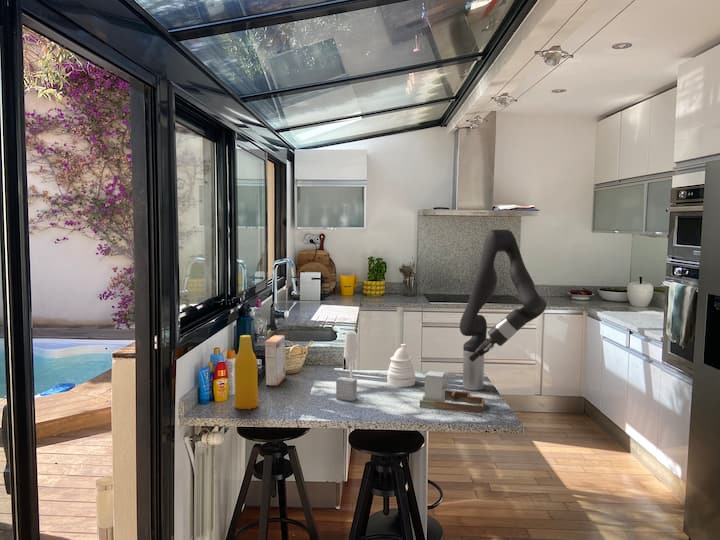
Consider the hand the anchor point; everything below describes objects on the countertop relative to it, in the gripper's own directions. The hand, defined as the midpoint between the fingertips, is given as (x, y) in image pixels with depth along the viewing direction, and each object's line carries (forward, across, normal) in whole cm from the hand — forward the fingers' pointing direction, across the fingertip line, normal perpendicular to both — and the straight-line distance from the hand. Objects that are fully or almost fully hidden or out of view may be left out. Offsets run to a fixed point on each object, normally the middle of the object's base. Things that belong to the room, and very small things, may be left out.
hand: (470, 359), depth 224 cm
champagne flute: (+54, +18, +25) cm, 62 cm away
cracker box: (+79, +11, +50) cm, 94 cm away
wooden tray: (+19, +2, -9) cm, 21 cm away
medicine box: (+50, -4, +22) cm, 55 cm away
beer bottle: (+76, -25, +48) cm, 93 cm away
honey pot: (+38, +26, +9) cm, 47 cm away
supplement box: (+24, 0, -4) cm, 24 cm away
